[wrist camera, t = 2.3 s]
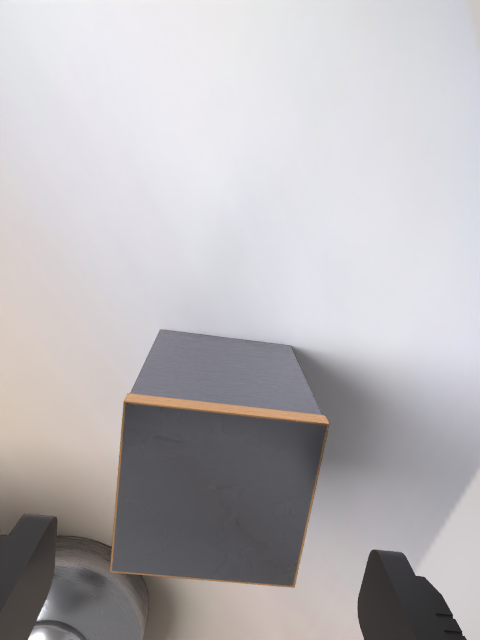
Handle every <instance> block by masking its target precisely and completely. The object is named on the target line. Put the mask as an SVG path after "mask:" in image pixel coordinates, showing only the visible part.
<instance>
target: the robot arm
mask: <svg viewBox="0 0 480 640" xmlns="http://www.w3.org/2000/svg"><path fill="white" fill-rule="evenodd" d="M56 536H57V518H56V517H53V516H43V515H33V514H24V515H23V516H22V517H21V518H20V520H19V521H18V523H17V524H16V526H15V527H14V529H13V530H12V532H11V534H10V535H9V536H7V535H0V640H28V638H29V636H30V634H31V632H32V630H33V627H34V625H35V623H36V621H37V619H38V616H39V614H40V612H41V610H42V608H43V605H44V603H45V601H46V599H47V596H48V594H49V591H50V588H51V584H52V580H53V576H54V570H55V554H56ZM358 619H359V624H360V628H361V631H362V634H363V637H364V640H467V639H466V638H465V636H463V635H462V631H461V629H460V627H459V625H458V623H457V622H456V620H455V619H453V614H452V613H451V611H450V609H449V607H448V606H447V604H446V602H445V600H444V598H443V596H442V595H441V594H440V593H439V592H438V591H437V590H436V589H435V588H434V587H433V585H432V584H431V583H429V581H428V580H426V578H425V577H421V576H416V575H415V573H414V572H413V570H412V568H411V566H410V564H409V562H408V560H407V558H406V556H405V555H404V554H403V553H401V552H393V551H383V550H372V551H371V552H370V554H369V558H368V561H367V565H366V569H365V573H364V577H363V581H362V585H361V589H360V593H359V597H358Z"/></svg>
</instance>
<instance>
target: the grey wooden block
mask: <svg viewBox="0 0 480 640" xmlns="http://www.w3.org/2000/svg"><path fill="white" fill-rule="evenodd" d="M328 428H329V422H328V420H327V418H326V416H325V415H322V413H321V411H320V408H319V406H318V404H317V402H316V400H315V398H314V395H313V393H312V391H311V389H310V387H309V385H308V382H307V380H306V378H305V376H304V374H303V372H302V369H301V367H300V365H299V363H298V361H297V359H296V356H295V354H294V352H293V350H292V348H291V346H290V345H281V344H273V343H265V342H257V341H249V340H241V339H233V338H225V337H216V336H208V335H200V334H192V333H184V332H176V331H168V330H160V331H159V333H158V335H157V337H156V339H155V341H154V344H153V346H152V348H151V350H150V352H149V354H148V356H147V358H146V361H145V363H144V365H143V367H142V369H141V371H140V373H139V375H138V378H137V380H136V382H135V384H134V386H133V388H132V390H131V392H130V393H127V395H126V398H125V400H124V405H123V417H122V430H121V442H120V455H119V467H118V479H117V492H116V504H115V516H114V529H113V541H112V554H111V566H110V572H112V573H124V574H136V575H149V576H161V577H173V578H185V579H197V580H209V581H221V582H233V583H245V584H257V585H269V586H281V587H295V583H296V578H297V573H298V569H299V564H300V559H301V555H302V550H303V545H304V540H305V536H306V531H307V526H308V522H309V517H310V512H311V507H312V503H313V498H314V493H315V489H316V484H317V479H318V475H319V470H320V465H321V460H322V456H323V451H324V446H325V442H326V437H327V432H328Z"/></svg>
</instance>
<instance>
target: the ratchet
mask: <svg viewBox="0 0 480 640" xmlns="http://www.w3.org/2000/svg"><path fill="white" fill-rule="evenodd" d="M111 554H112V548H110V547H108V546H106V545H104V544H101V543H98V542H96V541H93V540H89V539H85V538H80V537H73V536H56V554H55V570H54V576H53V580H52V584H51V588H50V591H49V594H48V596H47V599H46V601H45V603H44V605H43V608H42V610H41V612H40V614H39V616H38V619H37V621H36V623H35V625H34V627H33V630H32V632H31V634H30V636H29V638H28V640H143V637H144V631H145V625H146V620H147V614H148V607H149V600H148V593H147V589H146V586H145V583H144V581H143V579H142V577H141V575H136V574H124V573H112V572H110V566H111Z"/></svg>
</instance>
